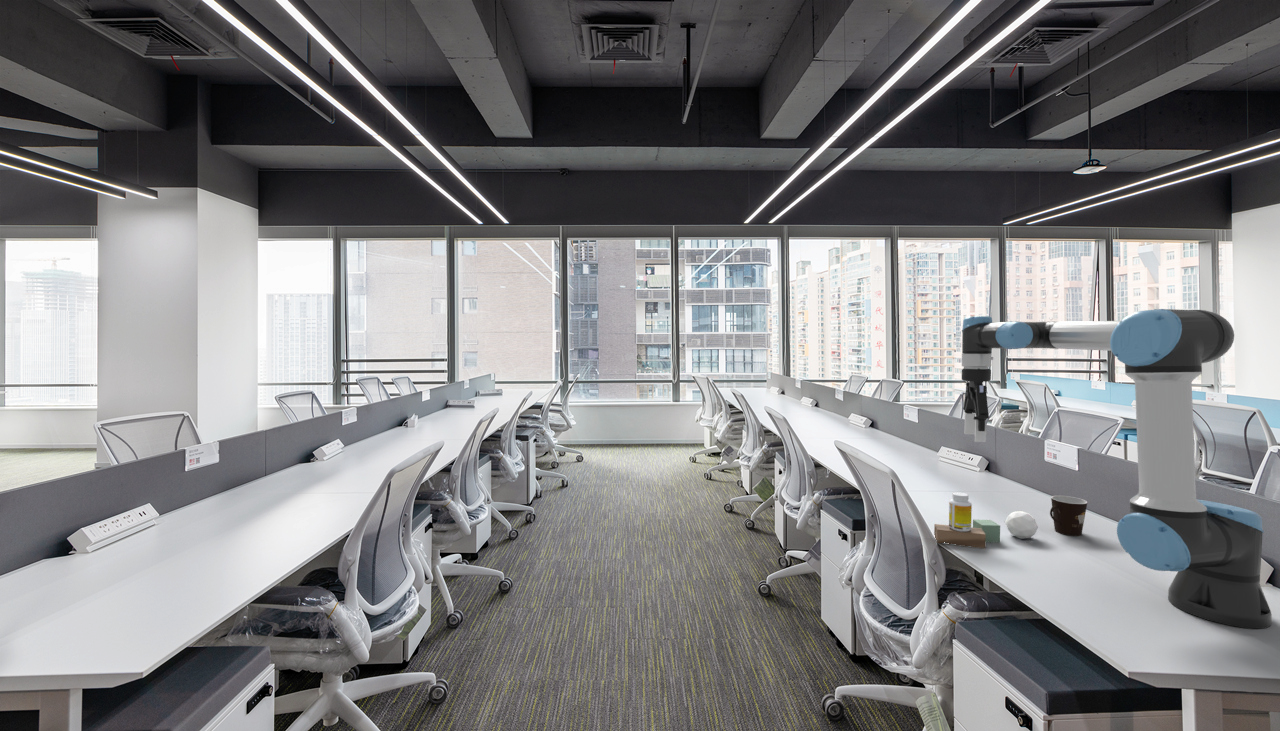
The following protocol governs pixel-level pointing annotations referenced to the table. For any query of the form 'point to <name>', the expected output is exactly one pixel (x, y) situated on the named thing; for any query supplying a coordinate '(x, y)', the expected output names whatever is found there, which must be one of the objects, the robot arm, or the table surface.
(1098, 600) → the table surface
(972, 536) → the walnut block
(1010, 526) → the geometric ball
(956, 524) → the supplement bottle
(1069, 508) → the coffee mug
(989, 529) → the green cube
